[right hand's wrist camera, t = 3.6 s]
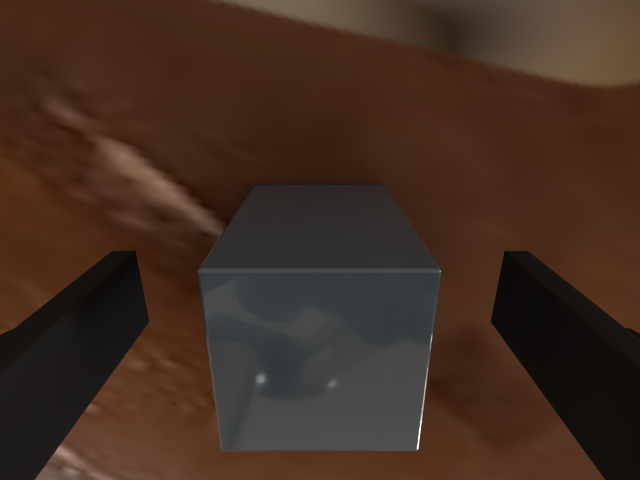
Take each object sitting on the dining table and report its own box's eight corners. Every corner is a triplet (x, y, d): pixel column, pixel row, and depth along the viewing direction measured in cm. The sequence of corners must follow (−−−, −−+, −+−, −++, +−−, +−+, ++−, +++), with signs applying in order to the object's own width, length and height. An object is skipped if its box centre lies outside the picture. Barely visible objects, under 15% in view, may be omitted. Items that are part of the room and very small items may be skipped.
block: (378, 301, 17) (419, 452, 10) (261, 301, 17) (220, 453, 10) (385, 184, 15) (443, 269, 8) (253, 184, 15) (195, 269, 8)
